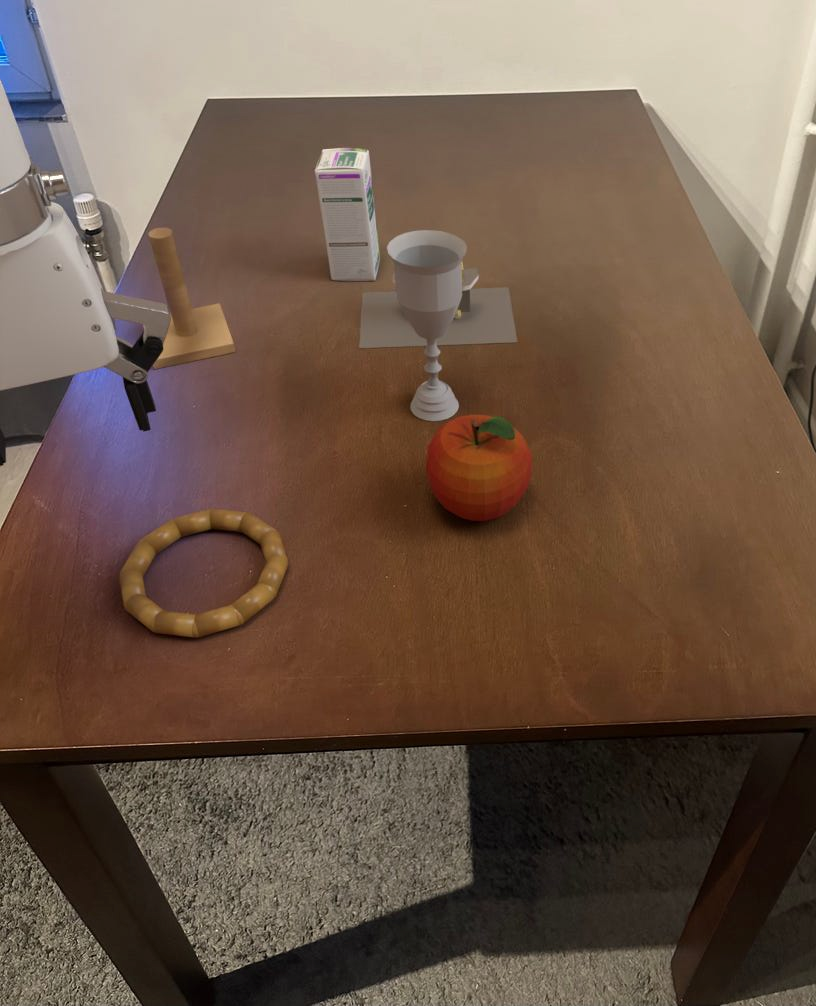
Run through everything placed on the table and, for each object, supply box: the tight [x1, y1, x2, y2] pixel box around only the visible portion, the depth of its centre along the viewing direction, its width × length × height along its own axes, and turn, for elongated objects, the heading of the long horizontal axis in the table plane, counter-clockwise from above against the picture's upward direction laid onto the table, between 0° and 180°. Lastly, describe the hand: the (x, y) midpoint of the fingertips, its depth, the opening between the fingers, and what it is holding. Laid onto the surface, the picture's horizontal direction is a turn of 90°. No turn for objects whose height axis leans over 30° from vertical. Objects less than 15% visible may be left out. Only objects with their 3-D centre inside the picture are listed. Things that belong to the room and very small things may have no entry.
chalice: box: [386, 229, 468, 422], centre depth 87 cm, size 7×7×18 cm
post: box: [142, 226, 236, 370], centre depth 97 cm, size 9×9×13 cm
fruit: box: [425, 414, 533, 522], centre depth 79 cm, size 10×10×10 cm
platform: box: [358, 261, 518, 349], centre depth 103 cm, size 12×18×7 cm, turn 94°
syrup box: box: [314, 147, 381, 282], centre depth 108 cm, size 6×6×14 cm
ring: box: [119, 508, 289, 639], centre depth 76 cm, size 14×14×2 cm
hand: (73, 436), depth 63 cm, fingers open, 9 cm apart
